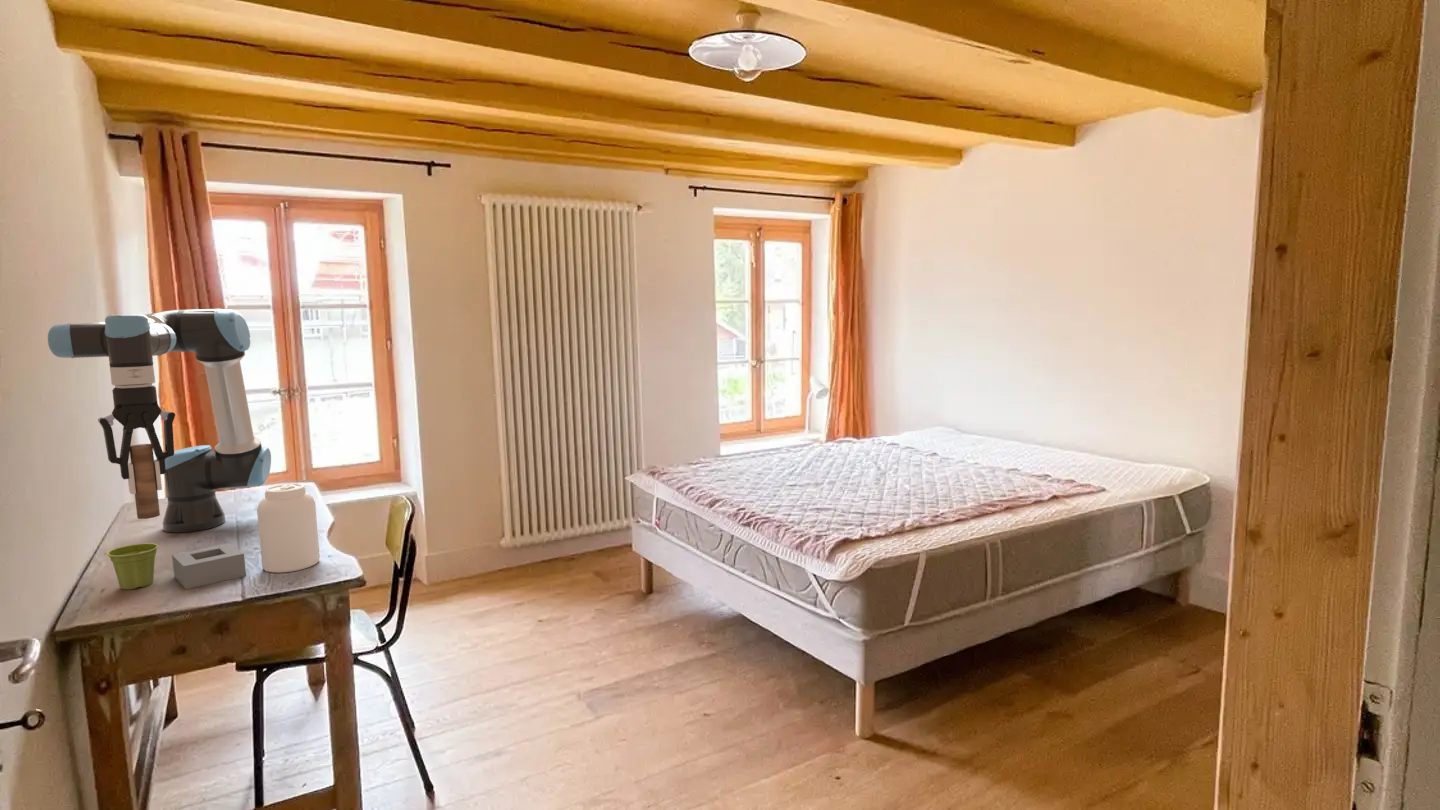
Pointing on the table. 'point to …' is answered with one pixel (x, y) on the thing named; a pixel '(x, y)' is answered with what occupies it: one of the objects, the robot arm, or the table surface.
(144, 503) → the dowel
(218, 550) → the box
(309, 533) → the can
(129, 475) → the robot arm
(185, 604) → the table surface
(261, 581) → the table surface
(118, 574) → the plant pot
